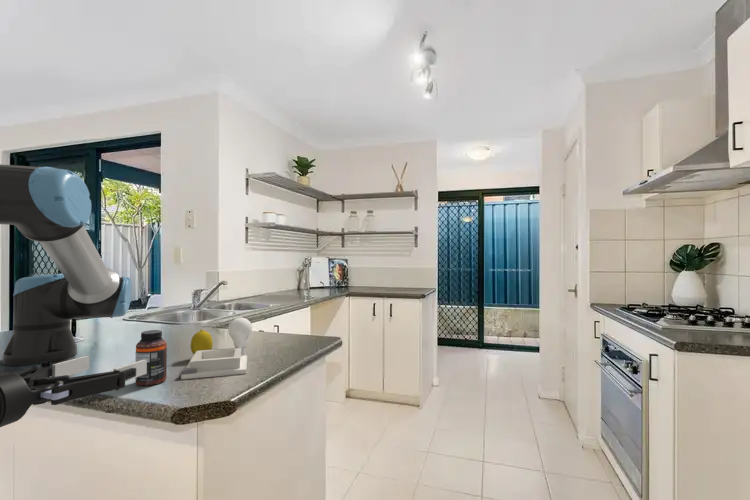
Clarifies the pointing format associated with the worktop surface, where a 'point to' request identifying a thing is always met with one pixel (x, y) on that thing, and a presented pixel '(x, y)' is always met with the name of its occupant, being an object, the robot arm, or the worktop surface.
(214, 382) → the worktop surface
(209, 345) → the lemon
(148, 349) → the supplement bottle
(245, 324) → the lightbulb
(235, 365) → the socket
